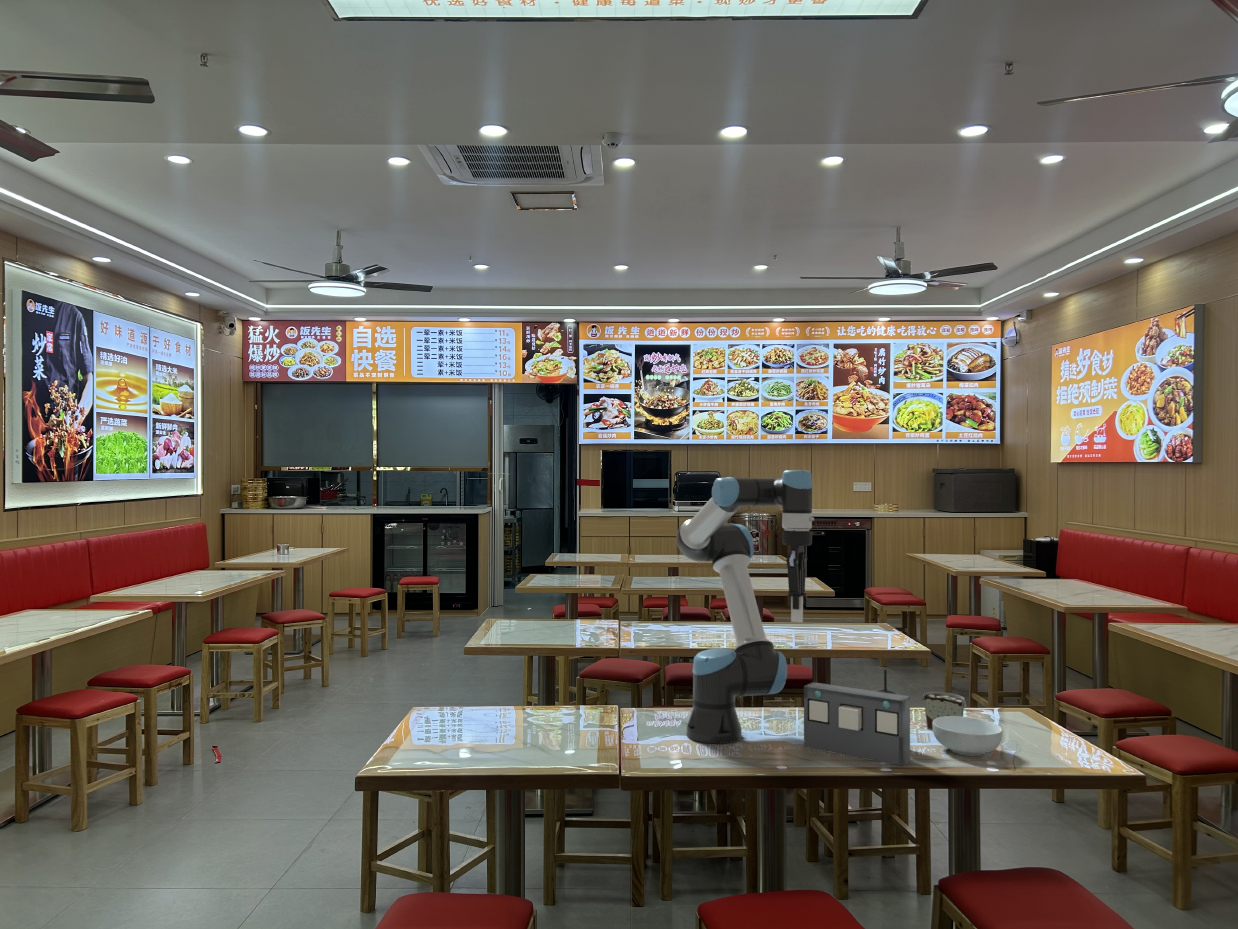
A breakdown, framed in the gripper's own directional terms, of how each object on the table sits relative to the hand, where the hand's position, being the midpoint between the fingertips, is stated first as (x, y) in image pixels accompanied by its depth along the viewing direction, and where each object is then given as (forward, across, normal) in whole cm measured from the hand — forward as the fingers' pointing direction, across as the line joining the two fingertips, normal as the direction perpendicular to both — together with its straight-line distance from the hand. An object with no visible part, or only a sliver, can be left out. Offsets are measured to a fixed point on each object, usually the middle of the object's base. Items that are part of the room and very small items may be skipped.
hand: (797, 621), depth 213 cm
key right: (+27, +8, -22) cm, 35 cm away
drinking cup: (+35, +21, -19) cm, 45 cm away
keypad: (+34, +10, -13) cm, 38 cm away
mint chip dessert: (+35, +44, -33) cm, 65 cm away
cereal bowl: (+35, +25, -39) cm, 58 cm away
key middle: (+27, +7, -12) cm, 30 cm away
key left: (+27, +11, -4) cm, 29 cm away
